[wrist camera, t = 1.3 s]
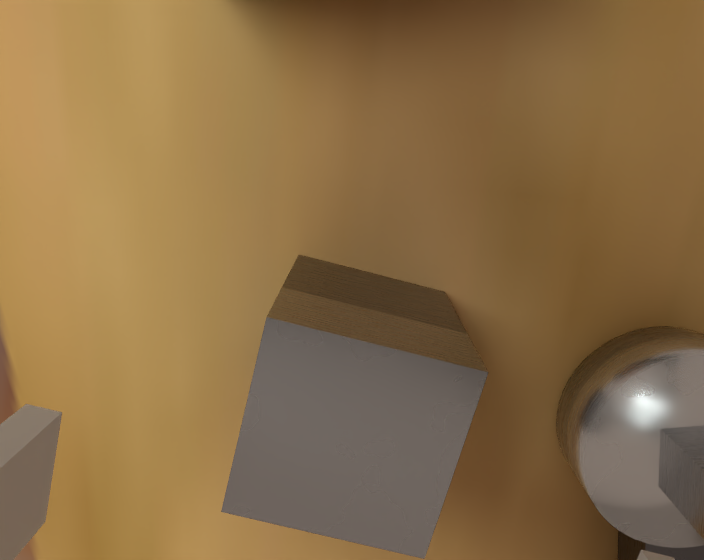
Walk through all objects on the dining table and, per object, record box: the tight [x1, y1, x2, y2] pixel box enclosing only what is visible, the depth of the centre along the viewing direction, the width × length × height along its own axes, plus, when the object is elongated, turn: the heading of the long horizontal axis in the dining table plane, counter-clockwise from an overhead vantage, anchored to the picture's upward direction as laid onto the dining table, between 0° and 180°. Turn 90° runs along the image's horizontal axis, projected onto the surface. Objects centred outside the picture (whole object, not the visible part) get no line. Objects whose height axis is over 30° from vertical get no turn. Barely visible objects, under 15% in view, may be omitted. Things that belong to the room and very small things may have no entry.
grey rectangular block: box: [221, 255, 488, 559], centre depth 20 cm, size 6×6×8 cm
